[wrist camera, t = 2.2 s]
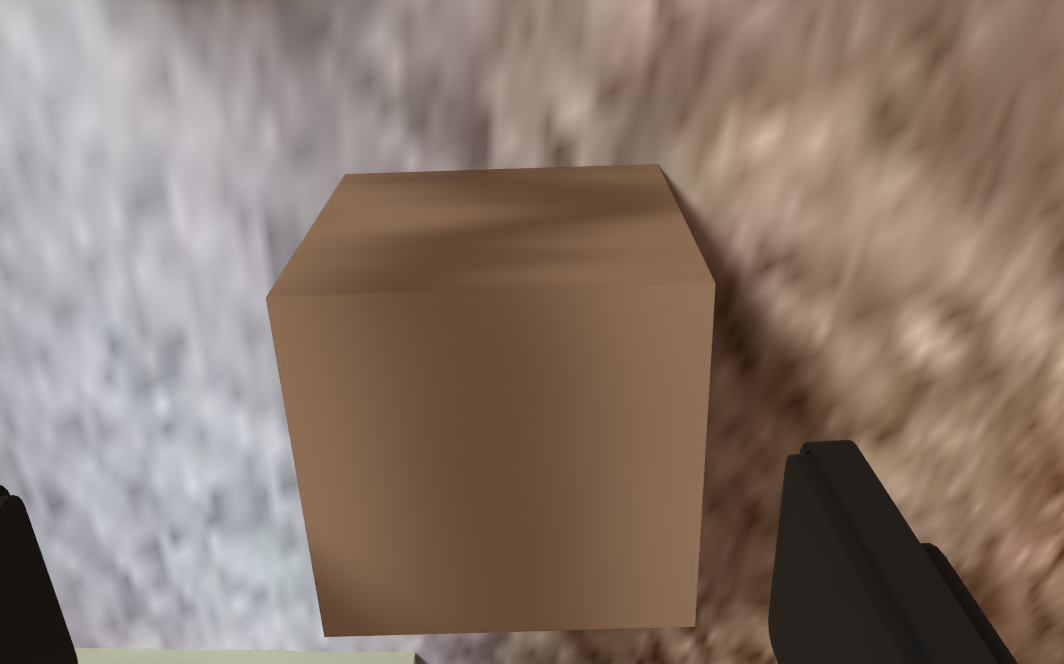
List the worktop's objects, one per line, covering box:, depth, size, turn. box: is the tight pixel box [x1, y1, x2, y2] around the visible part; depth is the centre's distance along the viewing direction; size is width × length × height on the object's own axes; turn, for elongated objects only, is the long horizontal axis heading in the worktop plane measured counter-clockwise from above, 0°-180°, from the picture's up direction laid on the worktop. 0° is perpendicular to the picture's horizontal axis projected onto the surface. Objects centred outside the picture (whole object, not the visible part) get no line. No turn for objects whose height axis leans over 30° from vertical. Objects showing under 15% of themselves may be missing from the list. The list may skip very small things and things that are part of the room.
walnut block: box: [266, 164, 716, 637], centre depth 16 cm, size 6×6×6 cm
